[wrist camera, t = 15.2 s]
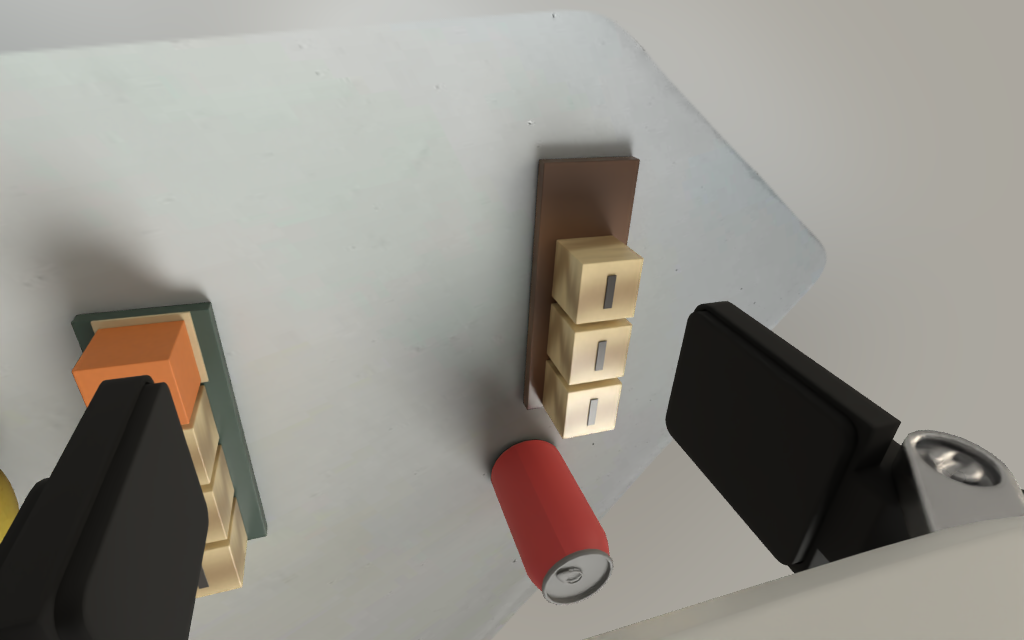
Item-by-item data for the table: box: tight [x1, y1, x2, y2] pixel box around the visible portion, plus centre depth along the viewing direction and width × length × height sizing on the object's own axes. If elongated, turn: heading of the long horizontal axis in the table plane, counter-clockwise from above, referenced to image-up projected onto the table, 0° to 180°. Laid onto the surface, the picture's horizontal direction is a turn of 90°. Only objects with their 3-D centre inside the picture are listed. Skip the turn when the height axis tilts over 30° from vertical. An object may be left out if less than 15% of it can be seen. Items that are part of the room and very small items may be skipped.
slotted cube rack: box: [71, 302, 267, 598], centre depth 35 cm, size 20×7×6 cm, turn 178°
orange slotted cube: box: [72, 320, 201, 425], centre depth 31 cm, size 4×4×4 cm
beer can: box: [491, 440, 613, 605], centre depth 44 cm, size 7×7×12 cm
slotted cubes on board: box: [523, 156, 643, 439], centre depth 40 cm, size 20×7×6 cm, turn 178°
